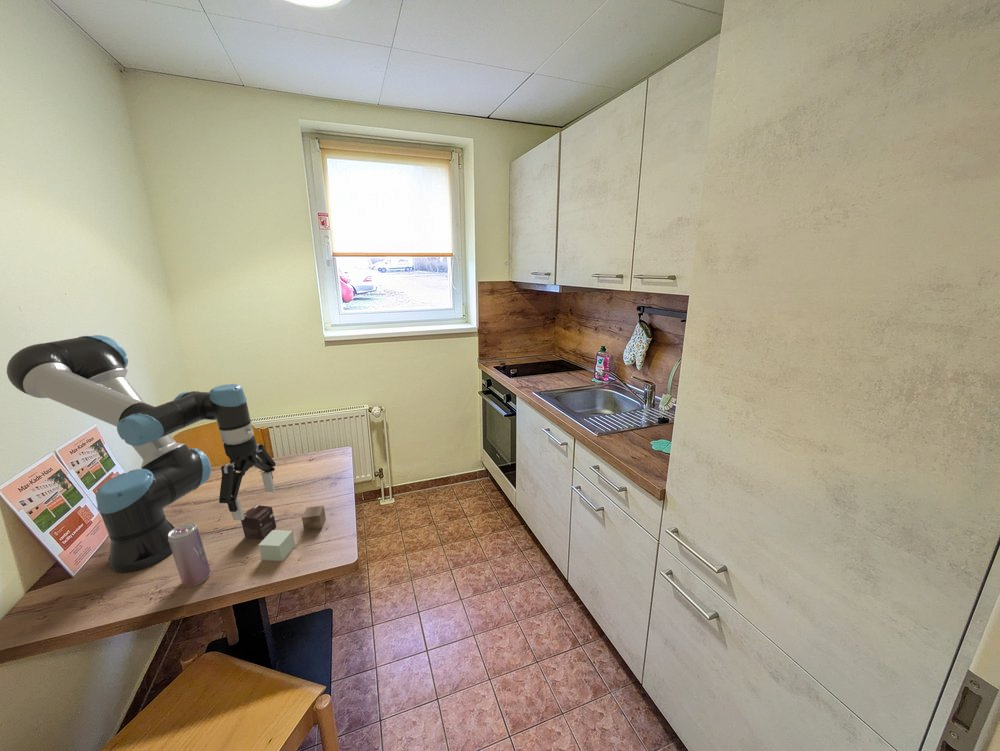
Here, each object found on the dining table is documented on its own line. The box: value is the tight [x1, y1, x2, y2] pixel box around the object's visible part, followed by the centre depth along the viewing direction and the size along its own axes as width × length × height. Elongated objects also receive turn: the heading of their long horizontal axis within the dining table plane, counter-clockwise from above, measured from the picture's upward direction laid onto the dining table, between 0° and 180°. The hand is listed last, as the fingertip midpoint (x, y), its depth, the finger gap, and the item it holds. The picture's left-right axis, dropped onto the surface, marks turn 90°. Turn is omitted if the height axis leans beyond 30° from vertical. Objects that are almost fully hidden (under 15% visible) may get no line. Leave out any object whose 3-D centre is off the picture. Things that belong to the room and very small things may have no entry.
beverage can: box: [168, 522, 211, 588], centre depth 98 cm, size 6×6×15 cm
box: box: [240, 504, 277, 540], centre depth 116 cm, size 6×6×7 cm
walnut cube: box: [301, 505, 327, 532], centre depth 119 cm, size 5×5×5 cm
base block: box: [258, 529, 296, 562], centre depth 108 cm, size 6×6×5 cm
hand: (255, 504), depth 115 cm, fingers open, 13 cm apart
